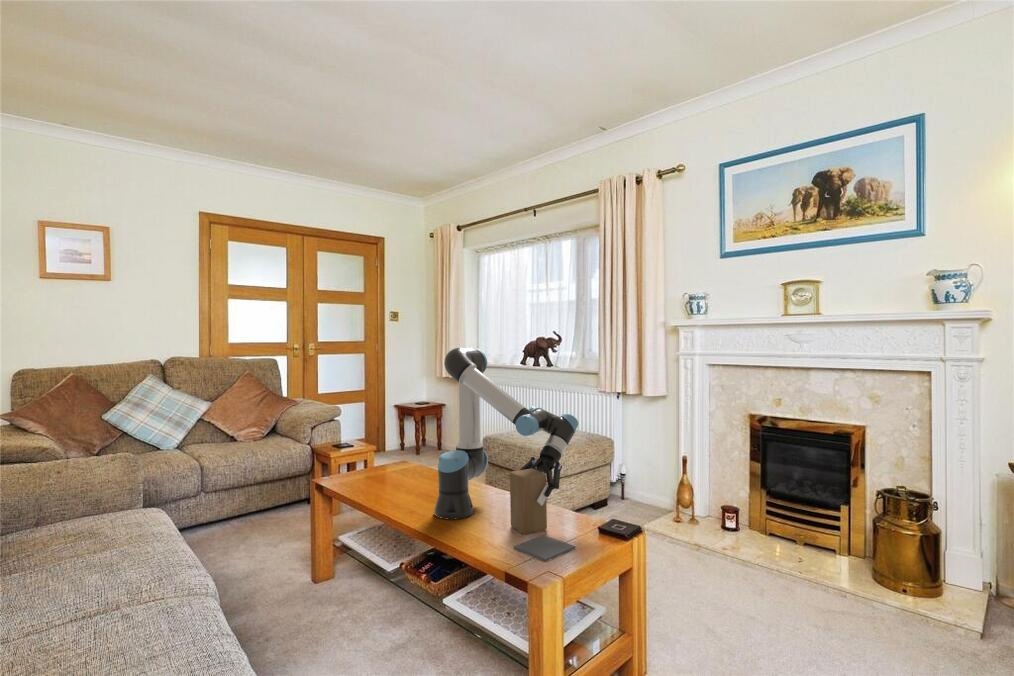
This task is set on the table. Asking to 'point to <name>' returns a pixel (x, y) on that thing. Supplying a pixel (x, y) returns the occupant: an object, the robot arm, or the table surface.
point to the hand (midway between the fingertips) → (525, 499)
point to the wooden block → (527, 501)
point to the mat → (544, 547)
